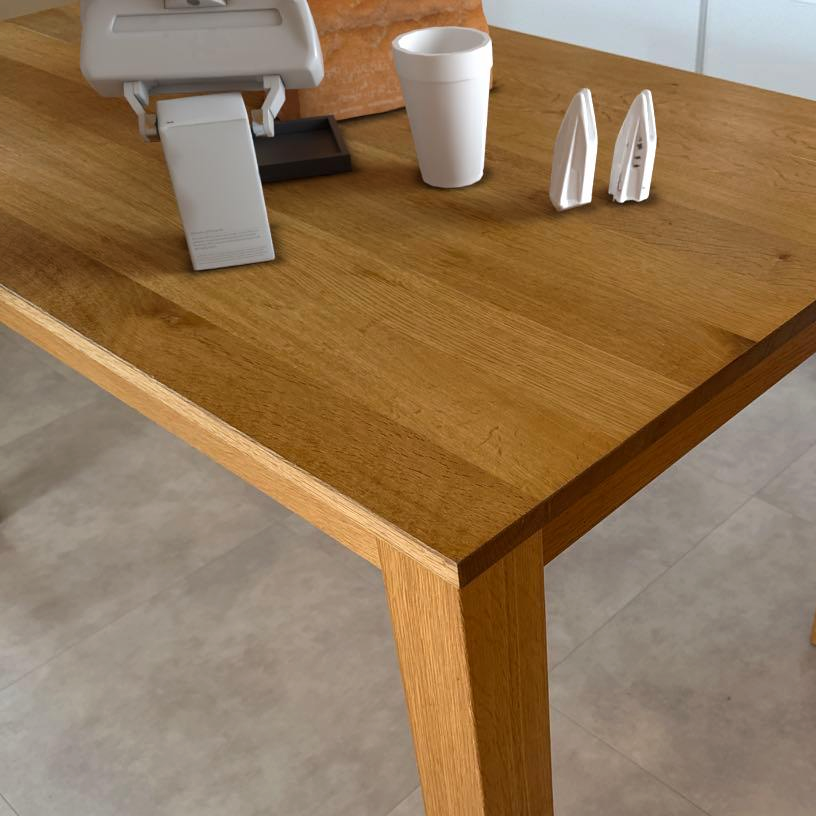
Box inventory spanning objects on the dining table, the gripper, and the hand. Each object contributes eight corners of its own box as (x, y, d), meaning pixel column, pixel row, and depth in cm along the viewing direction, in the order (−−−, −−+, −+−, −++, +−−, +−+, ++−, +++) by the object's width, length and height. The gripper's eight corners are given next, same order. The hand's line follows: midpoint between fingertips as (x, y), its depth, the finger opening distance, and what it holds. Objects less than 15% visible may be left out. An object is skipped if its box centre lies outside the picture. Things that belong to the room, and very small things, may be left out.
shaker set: (556, 226, 95) (555, 105, 87) (535, 210, 97) (532, 91, 90) (663, 198, 99) (670, 80, 91) (639, 184, 101) (644, 68, 94)
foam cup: (422, 155, 109) (409, 24, 100) (506, 160, 107) (500, 28, 98) (395, 191, 102) (379, 53, 93) (484, 196, 100) (476, 57, 91)
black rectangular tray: (230, 187, 103) (226, 170, 102) (223, 144, 112) (219, 128, 111) (352, 171, 106) (350, 154, 105) (336, 130, 115) (333, 114, 114)
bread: (257, 101, 123) (229, -38, 113) (455, 63, 132) (445, -69, 122) (295, 136, 114) (268, -12, 104) (504, 92, 123) (498, -47, 113)
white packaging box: (277, 261, 91) (248, 117, 82) (192, 273, 89) (154, 127, 81) (269, 227, 96) (242, 89, 88) (189, 237, 94) (153, 98, 86)
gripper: (63, -36, 84) (69, 125, 83) (309, -46, 85) (318, 113, 84) (94, 8, 90) (100, 158, 89) (323, -2, 91) (331, 147, 90)
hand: (207, 137), depth 87 cm, fingers open, 8 cm apart
